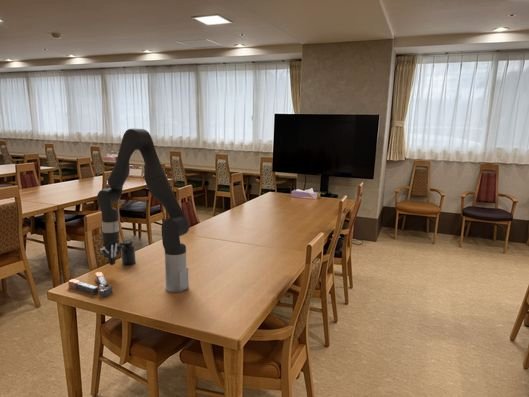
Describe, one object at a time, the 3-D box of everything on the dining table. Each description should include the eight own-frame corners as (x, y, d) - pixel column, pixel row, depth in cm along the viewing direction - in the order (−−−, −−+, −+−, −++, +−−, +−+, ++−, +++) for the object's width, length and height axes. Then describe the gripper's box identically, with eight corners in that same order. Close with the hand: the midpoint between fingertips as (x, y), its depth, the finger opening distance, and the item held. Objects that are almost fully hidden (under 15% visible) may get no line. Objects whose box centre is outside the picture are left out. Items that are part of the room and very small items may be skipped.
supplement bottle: (131, 259, 202) (130, 238, 199) (138, 262, 197) (137, 241, 195) (119, 263, 196) (118, 241, 194) (126, 266, 192) (125, 244, 190)
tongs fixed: (112, 293, 161) (112, 284, 161) (102, 298, 157) (101, 289, 156) (79, 283, 171) (78, 275, 170) (68, 287, 166) (68, 279, 165)
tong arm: (108, 290, 164) (108, 283, 163) (102, 291, 163) (101, 285, 162) (101, 278, 177) (101, 271, 177) (95, 279, 176) (95, 272, 175)
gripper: (104, 234, 169) (106, 270, 172) (127, 227, 180) (128, 261, 184) (93, 232, 172) (95, 267, 176) (116, 225, 184) (117, 258, 187)
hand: (112, 264), depth 180 cm, fingers closed
